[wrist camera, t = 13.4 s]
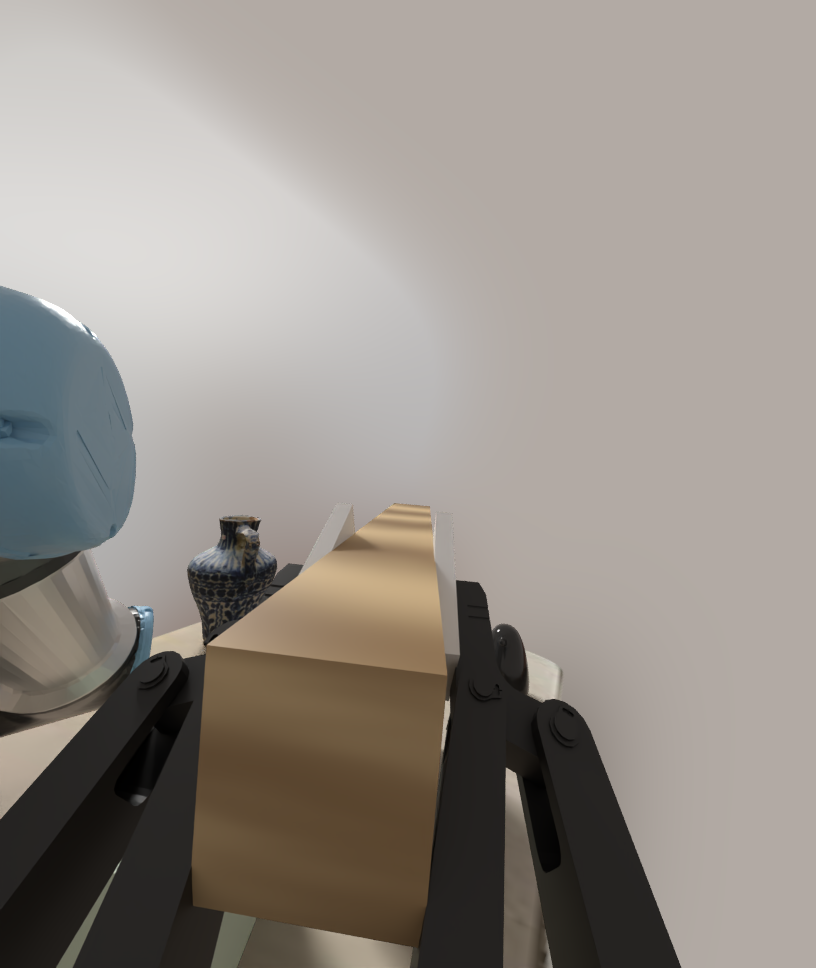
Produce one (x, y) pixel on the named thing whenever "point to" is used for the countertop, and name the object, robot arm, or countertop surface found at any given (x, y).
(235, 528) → the jug
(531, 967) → the countertop surface
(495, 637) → the pump dispenser
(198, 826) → the oak slat
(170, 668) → the robot arm
